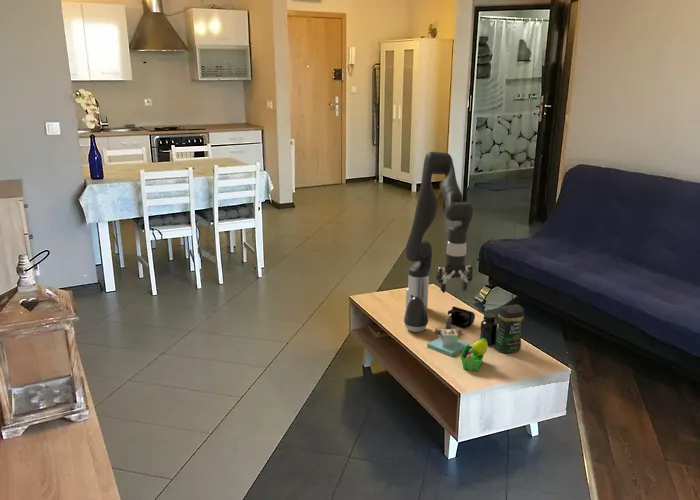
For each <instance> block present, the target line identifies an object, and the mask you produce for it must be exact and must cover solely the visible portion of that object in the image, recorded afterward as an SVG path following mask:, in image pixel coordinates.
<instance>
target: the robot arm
mask: <svg viewBox="0 0 700 500" xmlns="http://www.w3.org/2000/svg"><path fill="white" fill-rule="evenodd" d="M422 166H423V167H422V175H421V183H420V188H419V193H418V197H417V201H416V205H415V206H416V207H415V212H414V217H413V222H412V225H411V229H410V233H409V236H408V239H407V242H406V246H405V256H406V259H407V260H408V261H409V262H411V263H413V265H411V266H410V267H409V268H408V284H407V285H408V288H406V295H405V308H407V306H408V303H409V301H410V300H411V296H410V295H413V296H414V297H415V296H418V297H420V298H422V300H423V301H424V304H425V307H426V310H427V311H428V304H429V303H428V302H429V280H430V279H429V277H430V271H431V268H432V257H433V247H432V244H431V243H430V242H429V240H427V239H423V238H424V236H425V234H426V232H427V231H428V230H429V228H430V227H431V225H432V224H433V223H434V221H435V219H436V218H437V212H438V208H439V200H438V198H437V197H438V196H437V195H436V192H435V189H434V188H433V185H432V176H433V175H441V176H442V175H444V177H445V178H444V180H443V182H442V183H441V187H440V191H441V194H442V195H441V196H443V200H444V203H445V209H444V210H445V211H444V212H445V214H444V215H445V218H446V219H447V220H448V221H451V222H458V221H459V223H458V224H455V225H451V226H450V227H449V228H448V232H447V233H448V234H447V244H446V254H445V266H444V267H441V266H438V267H437V271H436V276H435V277H436V279H435V281H436V282H437V283H438V284H440V291H441V292H442V293H443V294H444V293H446V283H447V282H448V281H449V280H450V279H454V278H457V279H458V278H461V280H462V282H461V290H462V292H466V290H468V289H467V288H468V282H470V281H473V266H471V265H470V264H467V265H466V258H467V257H466V256H467V236H468V230H469V227H470V224H471V222H472V219H473V216H474V207H473V205H472V203H470V202H468V201H465V202H463V199H464V198H463V197H464V196H463V193H462V191H461V189H460V186H459V185H458V180H457V177H456V171H455V167H454V162H453V158H452V156H451V154H450V153H448V152H443V151H428V152H427V153H426V154H425V157H424V160H423V165H422ZM465 271H466V276H465V274H464V272H465ZM444 272H445V273H444ZM443 273H444V274H443Z"/></svg>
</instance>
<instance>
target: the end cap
mask: <svg viewBox="0 0 700 500" xmlns="http://www.w3.org/2000/svg"><path fill="white" fill-rule="evenodd" d="M447 315H449V316H448V317H451V318H452V320H451V325H452V326H455V327H458V328H461V329H462V330H466V329H468V328H470V327H471V326H472V325H473V324H474V322H475V318H476V315H475V313H474V311H470V310H468V309H464V308H460V307H458V306H452V307H451V309H450V310H448V311H447ZM469 326H470V327H469Z"/></svg>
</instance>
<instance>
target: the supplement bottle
mask: <svg viewBox="0 0 700 500" xmlns="http://www.w3.org/2000/svg"><path fill="white" fill-rule="evenodd" d="M498 325H499V322H498V321H497V316H496V314H494V313H490V312H489V313H485V314H483V320H482V321H481V322H480V331H479V334H480V335H479V340H480V339H482V338H484V339H486V340H487V343H488V346H489V347H492V346H495V342H496V337H497V332H498ZM488 346H487V347H488Z"/></svg>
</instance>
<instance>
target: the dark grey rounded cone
mask: <svg viewBox="0 0 700 500" xmlns="http://www.w3.org/2000/svg"><path fill="white" fill-rule="evenodd" d="M410 296H411V300H410V301H409V303H408V306H407V308H406V307H405V308H406V309H405V313H404V317H403V323H404V325H405V327H406V329H407V330H408V331H410V332H411V333H421V332H423V331H424V330H425V329H426V328H427V326H428V324H429V317H428V309H427V310H426V307H425V304H424V301H423V300H422V298H420V297H418V296H415V297H414V296H413V295H410Z"/></svg>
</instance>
